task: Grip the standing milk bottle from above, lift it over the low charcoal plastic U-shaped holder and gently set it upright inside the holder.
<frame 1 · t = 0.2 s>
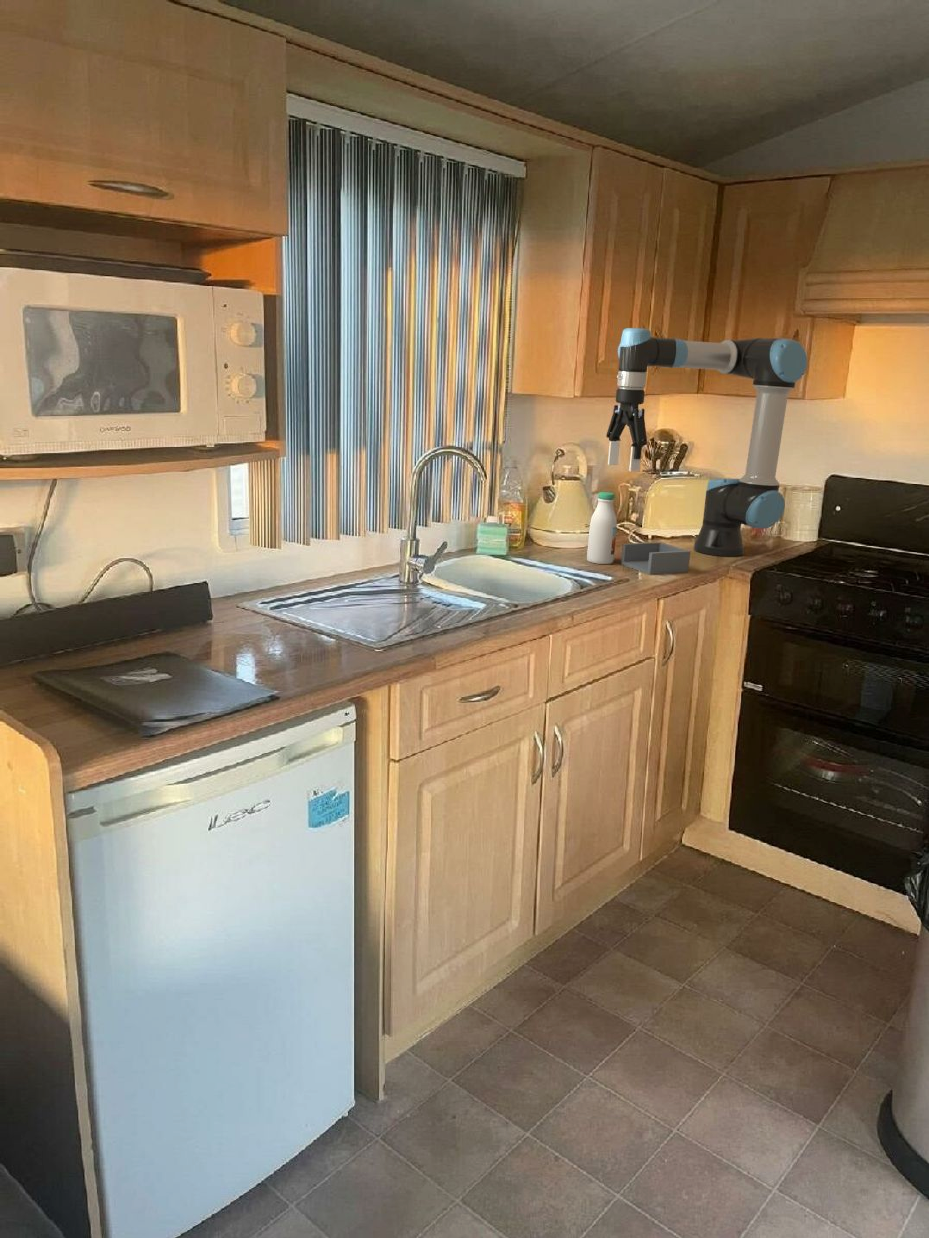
hand: (623, 468, 264), 28 cm above the countertop, tool pointing down, fingers open, 13 cm apart
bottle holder: (654, 568, 274), on the countertop
milk bottle: (599, 562, 278), on the countertop
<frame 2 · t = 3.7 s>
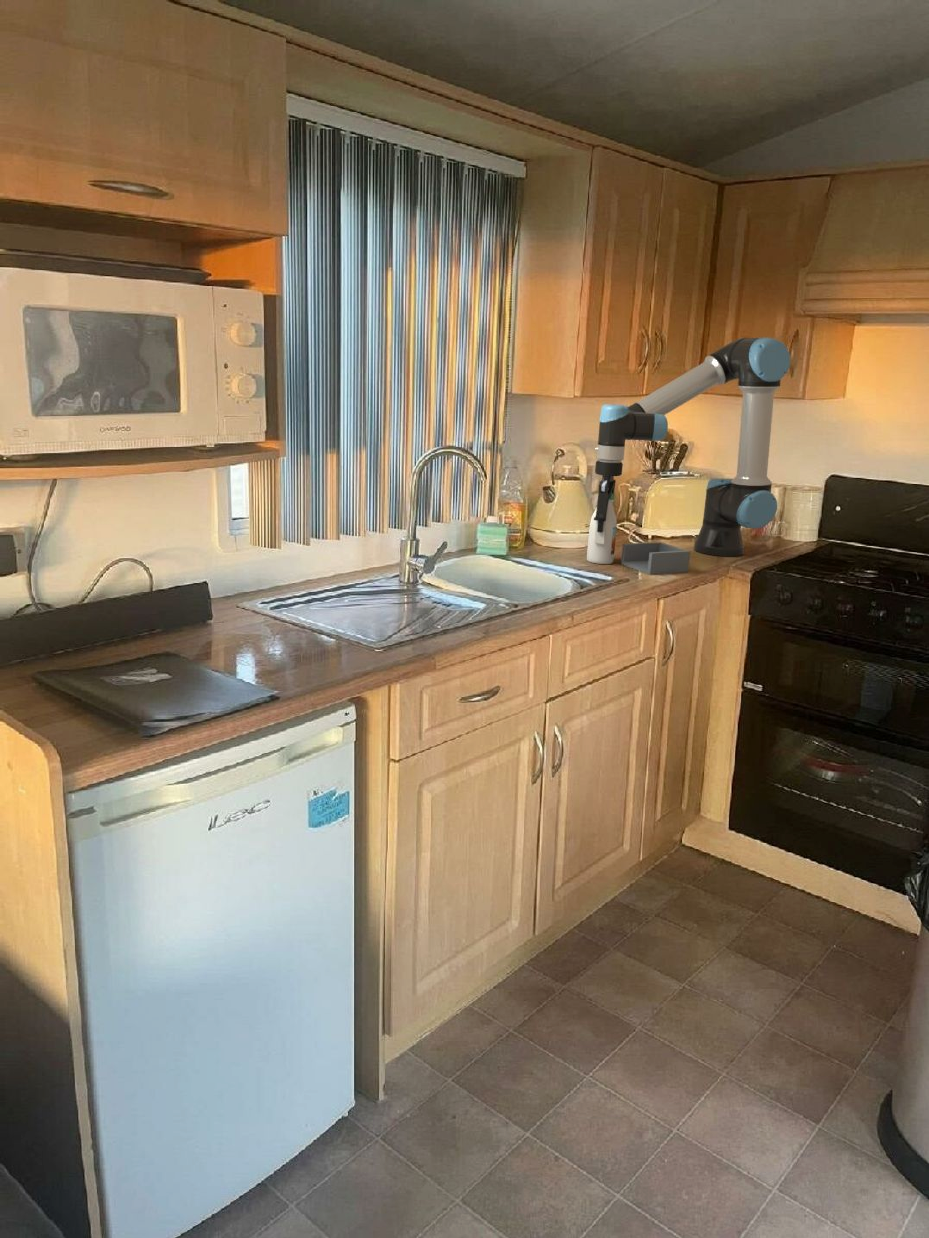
hand: (601, 540, 277), 6 cm above the countertop, tool pointing down, fingers closed on milk bottle, 7 cm apart
milk bottle: (599, 562, 278), on the countertop, touching gripper
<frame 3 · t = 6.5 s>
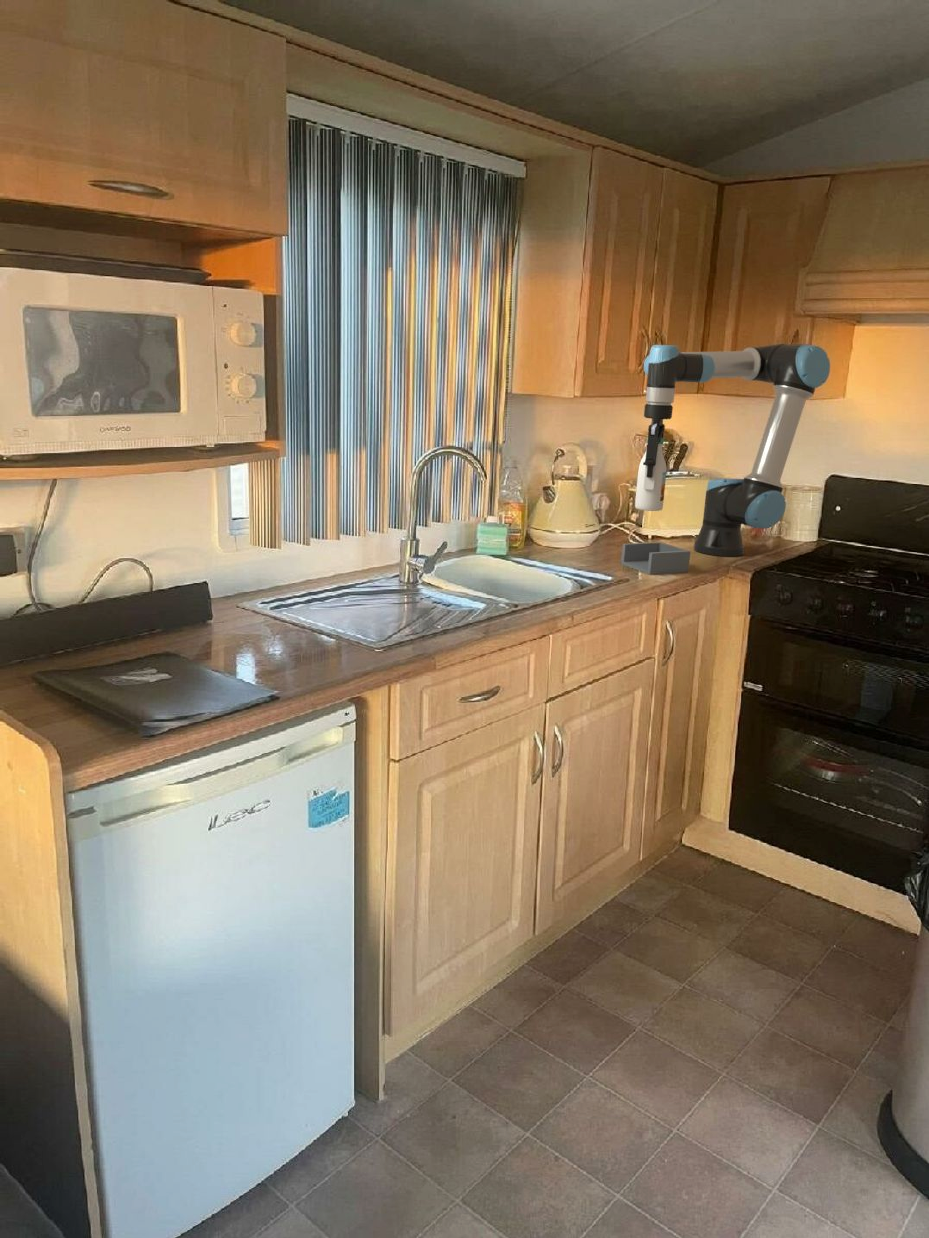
hand: (650, 487, 269), 23 cm above the countertop, tool pointing down, fingers closed on milk bottle, 7 cm apart
milk bottle: (648, 510, 271), point 16 cm above the countertop, touching gripper
when the fingers open (9 cm above the countertop, at t = 9.2 s): milk bottle drops 1 cm, resting on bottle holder.
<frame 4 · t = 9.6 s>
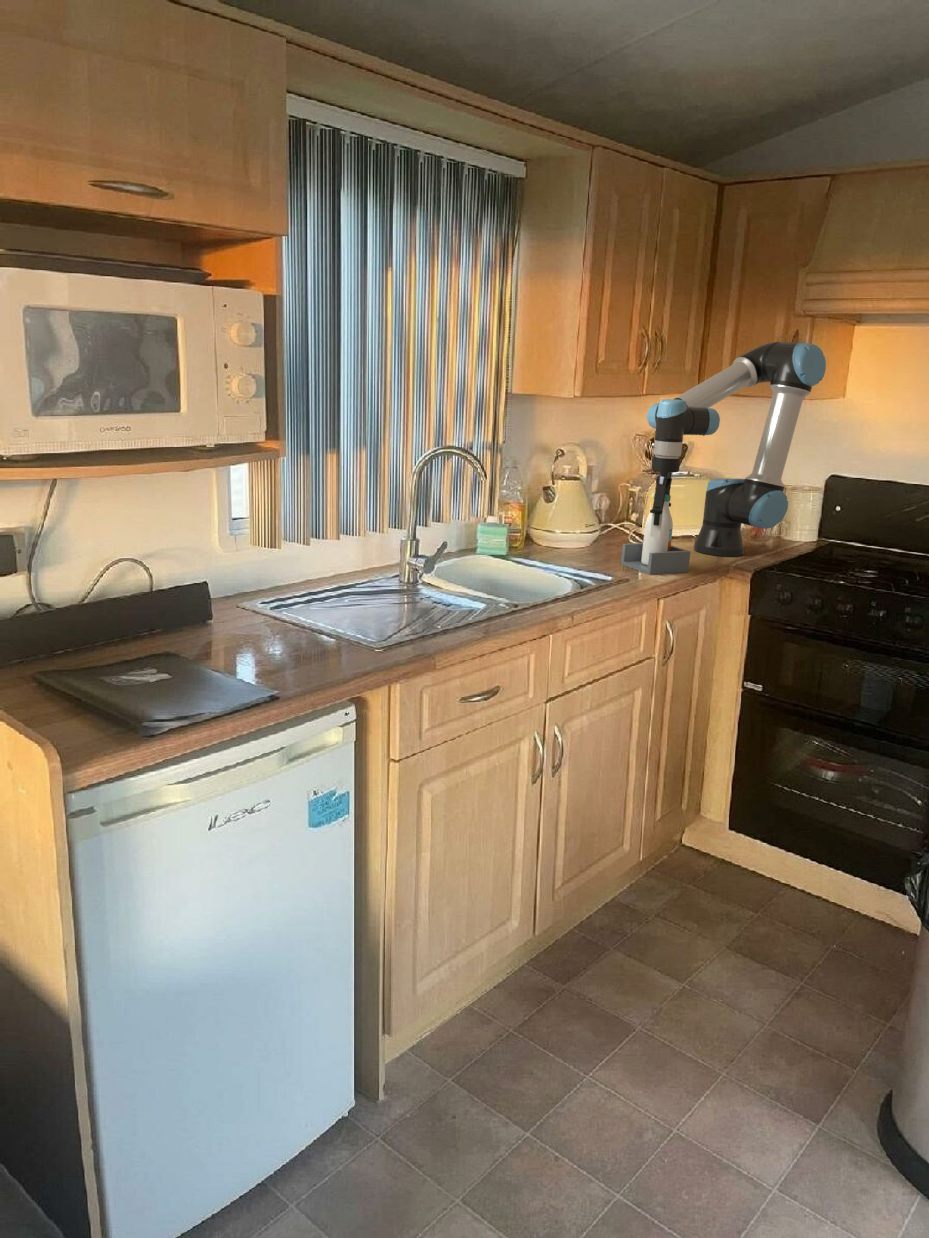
hand: (658, 533, 271), 10 cm above the countertop, tool pointing down, fingers open, 13 cm apart
milk bottle: (654, 565, 274), point 1 cm above the countertop, touching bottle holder
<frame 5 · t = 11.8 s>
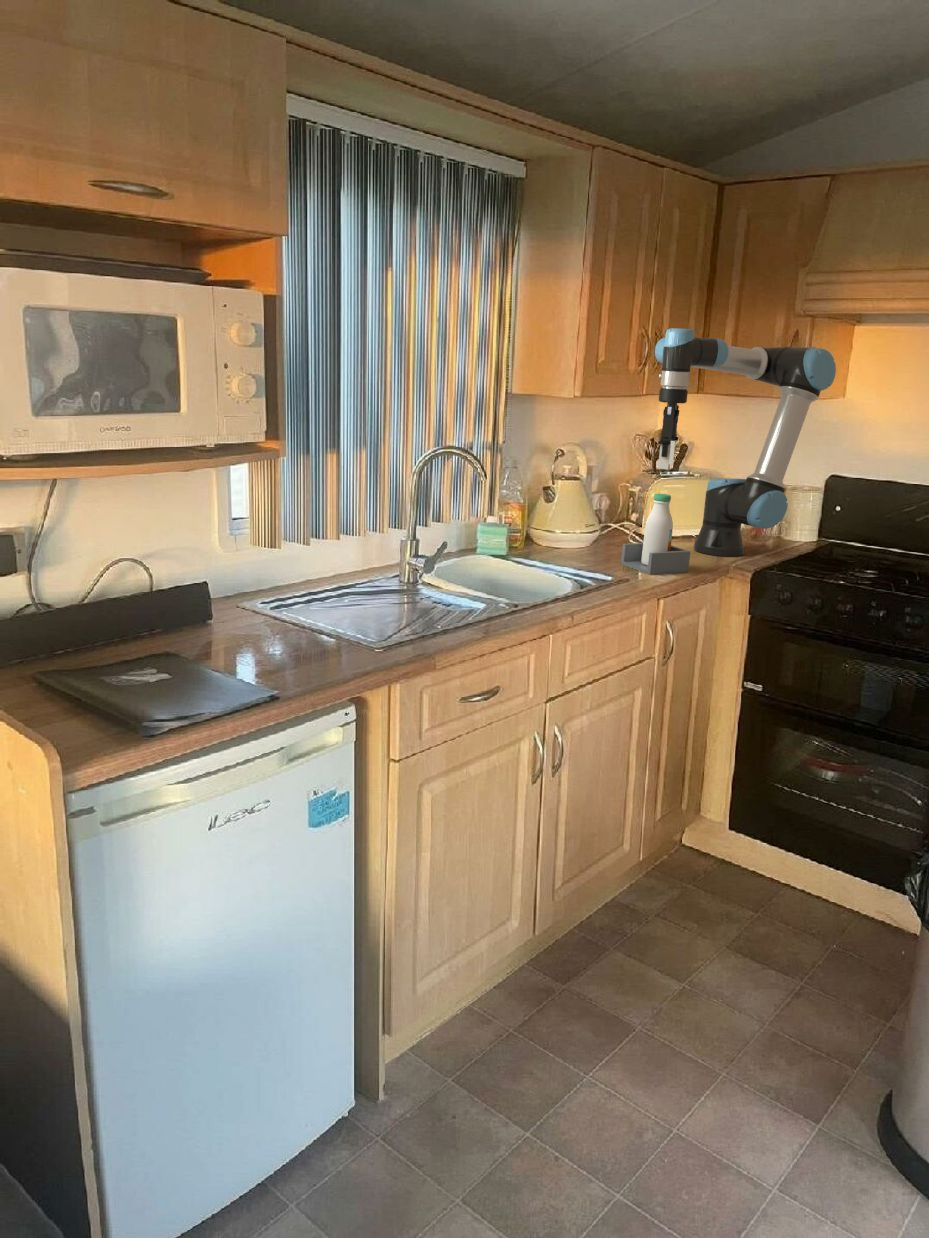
hand: (665, 466, 267), 29 cm above the countertop, tool pointing down, fingers open, 13 cm apart
nothing on the countertop moved.
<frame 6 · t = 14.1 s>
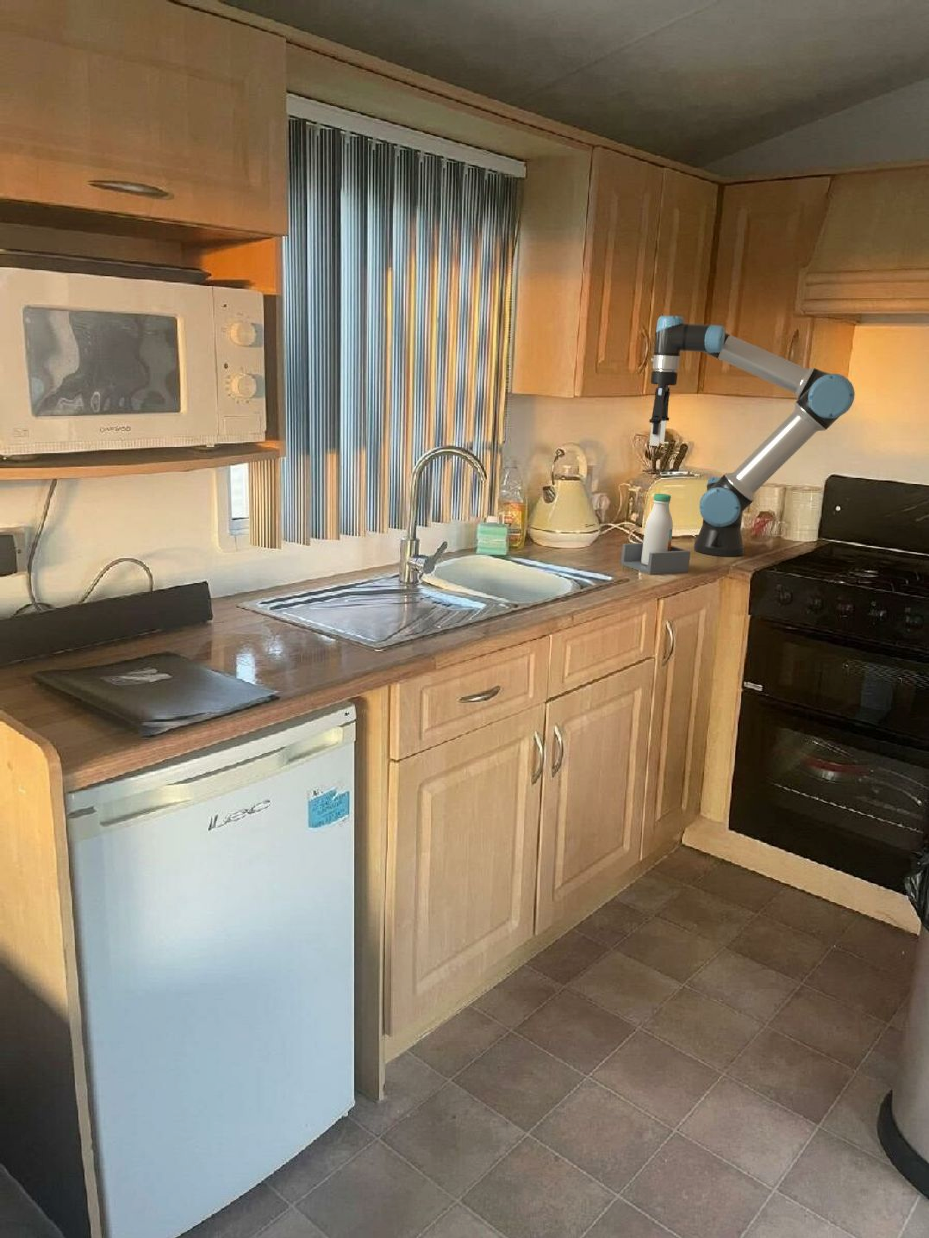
hand: (656, 444, 289), 33 cm above the countertop, tool pointing down, fingers open, 13 cm apart
nothing on the countertop moved.
at the end: milk bottle 0.1 cm off-centre on the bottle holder, point 0.8 cm above the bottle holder's base; milk bottle tilted 0°; the gripper is holding nothing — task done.
